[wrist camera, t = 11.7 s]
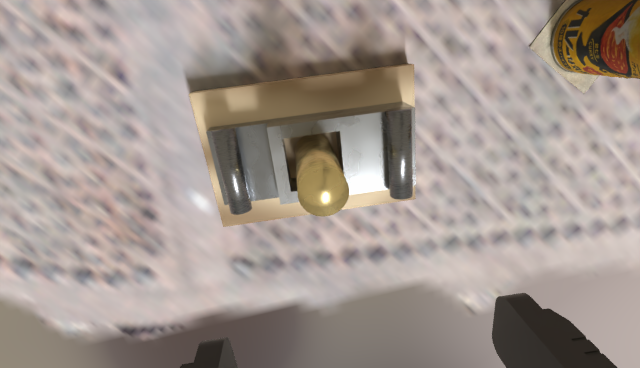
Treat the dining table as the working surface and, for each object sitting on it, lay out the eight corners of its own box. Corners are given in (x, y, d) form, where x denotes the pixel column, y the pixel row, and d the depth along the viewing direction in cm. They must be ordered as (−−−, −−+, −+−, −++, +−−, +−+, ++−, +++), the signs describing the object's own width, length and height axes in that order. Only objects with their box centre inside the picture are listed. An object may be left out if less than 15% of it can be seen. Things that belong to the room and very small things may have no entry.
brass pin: (292, 135, 29) (294, 172, 20) (330, 130, 29) (347, 165, 20) (297, 171, 30) (301, 219, 21) (333, 166, 30) (351, 212, 22)
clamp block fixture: (193, 91, 28) (168, 103, 22) (407, 63, 29) (438, 68, 23) (226, 219, 33) (212, 256, 27) (409, 192, 33) (435, 223, 27)
